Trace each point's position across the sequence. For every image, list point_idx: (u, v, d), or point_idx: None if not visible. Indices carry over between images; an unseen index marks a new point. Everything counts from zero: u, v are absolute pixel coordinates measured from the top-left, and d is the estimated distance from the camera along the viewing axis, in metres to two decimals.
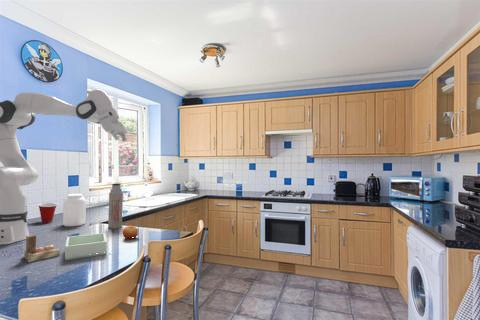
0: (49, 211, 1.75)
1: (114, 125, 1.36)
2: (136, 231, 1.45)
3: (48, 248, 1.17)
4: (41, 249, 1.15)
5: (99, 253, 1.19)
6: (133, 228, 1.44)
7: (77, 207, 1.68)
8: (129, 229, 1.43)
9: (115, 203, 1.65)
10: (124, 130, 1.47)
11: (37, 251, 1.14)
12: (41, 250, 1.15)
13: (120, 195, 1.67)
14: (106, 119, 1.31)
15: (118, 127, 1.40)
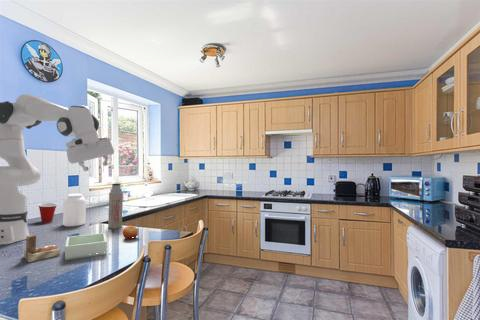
0: (49, 211, 1.75)
1: (84, 154, 1.18)
2: (136, 231, 1.45)
3: (53, 246, 1.19)
4: (48, 249, 1.17)
5: (99, 253, 1.19)
6: (133, 228, 1.44)
7: (77, 207, 1.68)
8: (129, 229, 1.43)
9: (115, 203, 1.65)
10: (108, 152, 1.27)
11: (44, 248, 1.16)
12: (47, 250, 1.17)
13: (120, 195, 1.67)
14: (70, 150, 1.14)
15: (93, 153, 1.21)
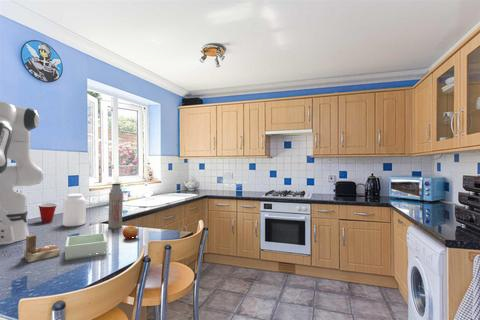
0: (49, 211, 1.75)
1: None
2: (136, 231, 1.45)
3: (53, 246, 1.19)
4: (48, 250, 1.17)
5: (99, 253, 1.19)
6: (133, 228, 1.44)
7: (77, 207, 1.68)
8: (129, 229, 1.43)
9: (115, 203, 1.65)
10: None
11: (45, 248, 1.16)
12: (47, 250, 1.17)
13: (120, 195, 1.67)
14: None
15: None
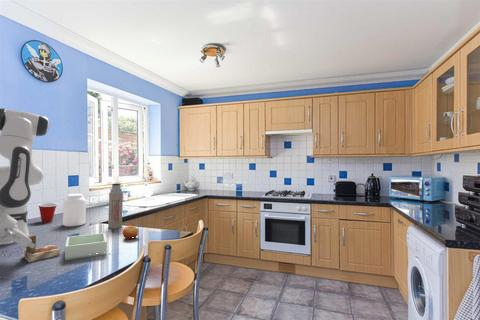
0: (49, 211, 1.75)
1: None
2: (136, 231, 1.45)
3: (53, 246, 1.19)
4: (47, 249, 1.17)
5: (99, 253, 1.19)
6: (133, 228, 1.44)
7: (77, 207, 1.68)
8: (129, 229, 1.43)
9: (115, 203, 1.65)
10: None
11: (44, 248, 1.16)
12: (47, 250, 1.17)
13: (120, 195, 1.67)
14: None
15: None
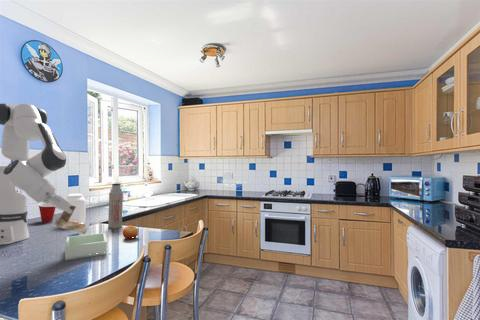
0: (49, 211, 1.75)
1: (49, 203, 1.16)
2: (136, 231, 1.45)
3: (82, 224, 1.22)
4: None
5: (99, 253, 1.19)
6: (133, 228, 1.44)
7: (77, 207, 1.68)
8: (129, 229, 1.43)
9: (115, 203, 1.65)
10: (60, 208, 1.10)
11: (76, 222, 1.20)
12: None
13: (120, 195, 1.67)
14: None
15: (53, 205, 1.14)
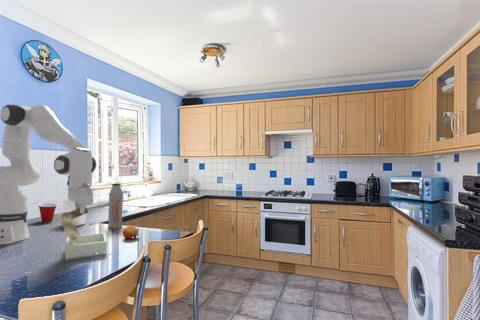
0: (49, 211, 1.75)
1: (72, 195, 1.22)
2: (136, 231, 1.45)
3: None
4: None
5: (99, 253, 1.19)
6: (133, 228, 1.44)
7: None
8: (129, 229, 1.43)
9: (115, 203, 1.65)
10: (81, 201, 1.15)
11: (72, 243, 1.22)
12: (75, 243, 1.24)
13: (120, 195, 1.67)
14: None
15: (76, 197, 1.19)
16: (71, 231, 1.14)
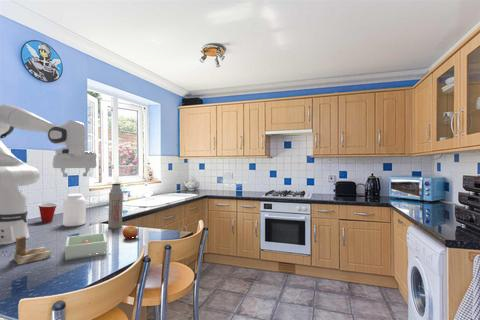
0: (49, 211, 1.75)
1: (67, 162, 1.35)
2: (136, 231, 1.45)
3: None
4: None
5: (99, 253, 1.19)
6: (133, 228, 1.44)
7: (77, 207, 1.68)
8: (129, 229, 1.43)
9: (115, 203, 1.65)
10: (90, 165, 1.44)
11: None
12: None
13: (120, 195, 1.67)
14: (55, 157, 1.32)
15: (76, 163, 1.39)
16: (38, 258, 1.12)
